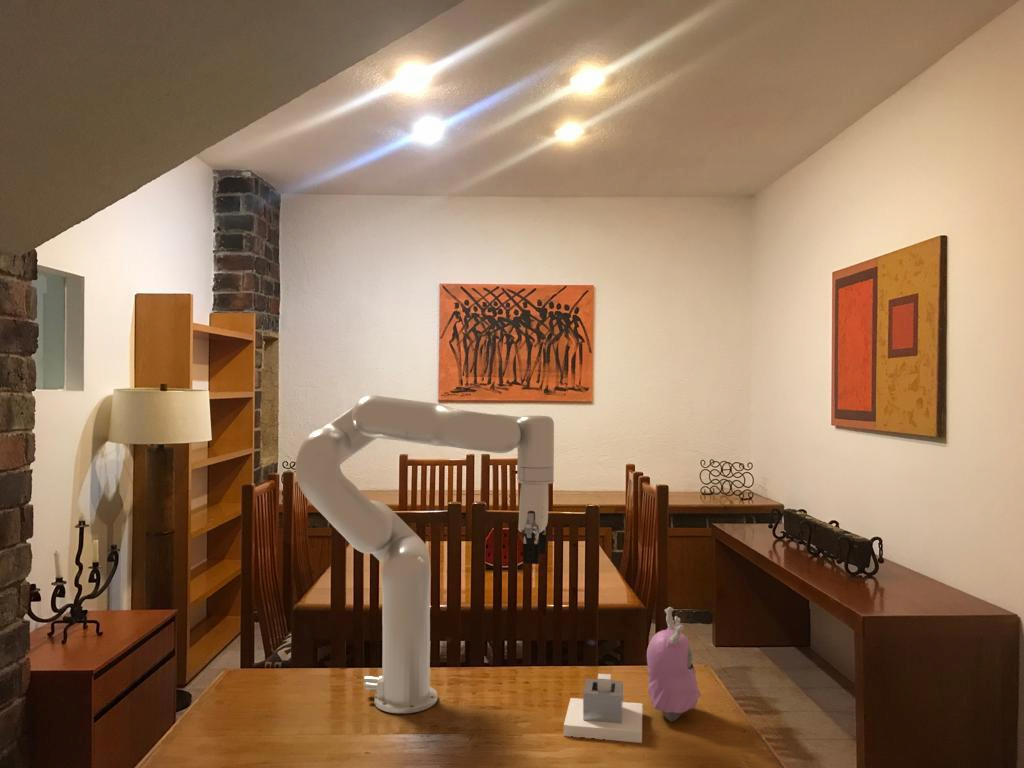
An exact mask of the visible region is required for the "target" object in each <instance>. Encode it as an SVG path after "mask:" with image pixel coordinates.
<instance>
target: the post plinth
mask: <svg viewBox="0 0 1024 768" xmlns="http://www.w3.org/2000/svg"><path fill="white" fill-rule="evenodd" d="M597 679H598V691H602V692H611V680H612V674H609V673H608V674H607V673H598V675H597ZM571 736H573V737H571ZM563 737H568V738H569V737H570V738H580V737H585V738H584V739H591V738H595V739H594V740H603V739H605V740H604V741H618V742H627V743H638V744H639V743H640V744H642V743H643V702H642V703H639V702H629V701H628V702H626V701H623V713H622V724H620V723H608V722H596V721H585V720H583V698H579V697H570V699H569V703H568V707H567V711H566V713H565V719H564V723H563Z"/></svg>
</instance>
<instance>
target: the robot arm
mask: <svg viewBox="0 0 1024 768" xmlns="http://www.w3.org/2000/svg"><path fill="white" fill-rule="evenodd" d="M377 439H382V440H390V441H399V442H400V441H401V442H405V443H406V442H407V443H414V444H421V445H429V446H436V447H448V448H457V449H463V450H469V451H470V450H471V451H479V452H485V453H494V454H506V453H509V452H512V451H513V450H515V449H516V448H517V473H516V474H517V478H516V479H517V483H519V484H520V491H519V492H520V494H519V507H518V508H519V509H518V511H519V512H518V528H517V529H518V531H519V532H520V533H523V532H524V535H523V544H522V562H523V564H527V565H529V564H530V565H539V563H540V554H543V555H544V554H546V553H547V531H546V530H547V529H546V527H548V526H547V525H548V524H549V523H548V522H549V521H548V520H549V484H550V485H551V484H553V483H554V482H555V479H554V478H555V477H554V476H555V474H554V473H555V472H554V471H555V469H554V463H555V462H554V460H555V456H554V455H555V451H554V450H555V423H554V419H553V418H552V417H551V416H547V415H524V416H513V415H505V414H501V413H500V414H498V413H496V414H494V413H493V414H492V413H484V412H478V411H477V412H476V411H470V410H464V409H459V408H454V407H450V406H448V405H447V406H446V405H444V404H439V403H434V402H428V401H420V400H411V399H403V398H397V397H388V396H381V395H373V394H371V395H366V396H363V397H361V398H360V399H359V400H358V401H357V402H356V403H355V405H353V406H352V407H351V408H350V409H348V410H347V411H345V412H344V413H342V414H341V415H340V416H338V417H337V418H335V419H334V420H332V421H331V422H329V423H328V424H326V425H325V426H323V427H321V428H319V429H316V430H313V431H312V432H311V433H309V434H308V435H307V436H306V437H305V438H304V440H303V441H302V442H301V444H300V447H299V449H298V452H297V456H296V460H295V468H294V469H295V477H296V481H297V483H298V484H297V485H298V487H299V490H300V491H301V492H302V494H303V495H304V496H305V498H306V499H307V500H308V502H310V504H311V505H312V507H314V509H316V510H317V511H318V512H319V513H320V514H321V515H322V516H323V517H324V518H325V519H326V520H327V522H329V524H331V525H332V527H333V528H334V529H335V530H336V531H337V532H338V533H339V534H340V535H341V536H342V537H343V538H344V539H345V540H346V542H348V543H349V545H350V546H351V547H352V548H354V550H357V551H358V552H360V553H362V554H366V555H367V554H368V555H370V554H372V555H373V556H374V557H375V558H376V559H377V560H378V561H379V562H380V563H381V564H382V568H381V594H382V595H381V601H382V603H381V605H382V612H381V614H382V619H381V620H382V624H381V625H382V655H381V656H382V660H381V661H382V663H381V665H382V667H381V668H382V671H381V672H382V675H379V676H378V677H377V676H373V675H365V676H364V678H363V686H364V690H366V691H375V692H376V693H375V694H374V701H373V702H374V706H375V707H376V708H378V709H379V710H381V711H384V712H386V713H391V714H412V713H418V712H422V711H425V710H427V709H430V708H431V707H433V706H434V705H435V704H436V702H438V692H437V689H435V688H434V687H432V686H431V685H430V683H431V681H430V680H431V679H430V678H431V677H430V675H431V667H430V665H431V664H430V663H431V648H430V647H431V616H430V615H431V578H432V577H431V576H432V571H431V569H432V568H431V557H430V551H429V548H428V546H427V544H426V543H425V542H424V541H423V539H421V537H420V536H419V535H418V534H417V533H416V532H415V531H413V529H412V528H411V527H410V526H409V525H407V523H405V521H404V520H403V519H402V518H401V517H400V516H399V515H397V513H396V512H395V511H394V510H393V509H392V508H390V507H389V506H388V505H387V504H385V503H384V502H382V501H378V500H371V499H369V498H368V497H366V496H365V494H363V493H362V492H361V490H360V489H358V487H357V486H356V485H355V484H354V483H353V482H352V481H351V480H349V479H348V478H347V477H346V476H345V475H344V473H343V471H342V470H341V469H342V468H341V465H342V464H343V463H344V462H345V461H347V460H348V459H350V458H351V457H353V455H356V454H357V453H358V452H360V451H361V450H362V449H364V448H366V446H368V445H369V444H371V443H373V442H374V441H375V440H377Z"/></svg>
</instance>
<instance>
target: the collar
mask: <svg viewBox="0 0 1024 768" xmlns="http://www.w3.org/2000/svg"><path fill="white" fill-rule="evenodd" d="M582 696H583V697H582V699H583V720H585V721H596V722H608V723H620V724H622V713H623V702H624V681H623V680H614V679H613V680H612V679H611V692H602V691H598V678H595V679H594V678H586V679H585V683H584V689H583V693H582Z"/></svg>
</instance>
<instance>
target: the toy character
mask: <svg viewBox="0 0 1024 768" xmlns="http://www.w3.org/2000/svg"><path fill="white" fill-rule="evenodd" d="M673 611H674V608H673V607H672V606H669V607H667V608H665V609H664V613H665V614H666V616H665V621H666V624H667V628H666V629H662V630H659V631H658V632H656V633H655V634H654V635H653V636H652V638H651V639H650V642H649V643H648V646H647V649H646V663H647V675H648V683H647V684H648V694H649V696H650V702H651V704H652V705H653V707H654V709H656V710H658V711H661V712H662V714H663V715H664V717H665V718H666V720H667V721H669V722H675V721H677V720H678V719H679V718H680V716H681V715H682V714H684V713H685V712H687V711H689V710H693V709H695V708H696V707H697V705H698V700H699V697H701V696H702V693H701V692H700V690H699V686H698V681H697V675H696V672H697V671H696V668H695V666H694V665H693V663H692V662H693V658H692V657H693V653H692V651H691V647H690V646H689V645H690V640H689V638H687V637H686V636H685V635H684V634H683V633H682V631H683V630H684V628H685V627H684V625H683V624H681V618H680V617H678V616H677V615H676V616H674V617H673V616H672V615H673V613H672V612H673Z"/></svg>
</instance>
